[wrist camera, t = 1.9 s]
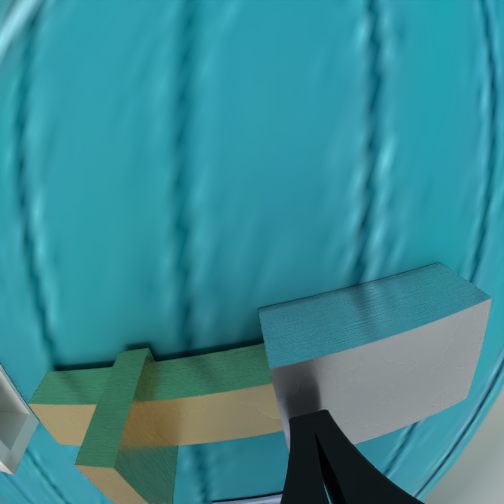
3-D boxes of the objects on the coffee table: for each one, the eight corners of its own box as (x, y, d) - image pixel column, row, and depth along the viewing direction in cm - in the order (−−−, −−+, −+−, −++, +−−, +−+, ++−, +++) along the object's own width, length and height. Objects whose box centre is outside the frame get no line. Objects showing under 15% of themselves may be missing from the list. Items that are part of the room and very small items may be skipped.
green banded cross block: (430, 355, 15) (492, 434, 9) (80, 420, 14) (48, 507, 8) (438, 281, 13) (528, 354, 7) (40, 359, 13) (-15, 447, 7)
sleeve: (430, 354, 15) (466, 398, 12) (278, 400, 15) (290, 461, 11) (439, 262, 13) (491, 297, 10) (257, 308, 13) (269, 369, 10)
